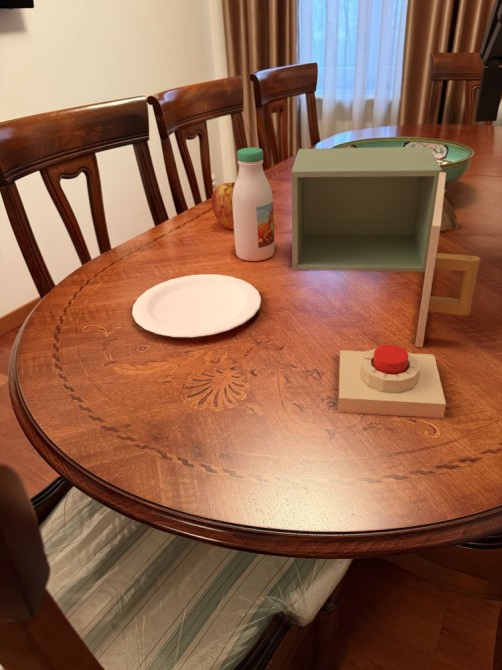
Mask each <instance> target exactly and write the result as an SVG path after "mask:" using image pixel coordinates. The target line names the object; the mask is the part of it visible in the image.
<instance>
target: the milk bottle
mask: <svg viewBox="0 0 502 670" xmlns="http://www.w3.org/2000/svg"><path fill="white" fill-rule="evenodd" d="M236 156H237V164H238V165H239V168H238V174H237V177H236V180H235V182H236V183H235V186H234V189H233V197H232V203H233V222H234V230H233V236H234V245H235V246H234V249H235V254H236V256H237V258H238V259H241V260H243V261H248V262H259V261H265V260H267V259H270V258H271V257H272V256H274V254H275V219H274V218H275V217H274V198H273V191H272V188H271V185H270V183H269V181H268V179H267V177H266V175H265V171H264V167H263V163H264V150H263V149H262V148H260V147H244V148H240V149H238V151H237V153H236Z"/></svg>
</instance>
